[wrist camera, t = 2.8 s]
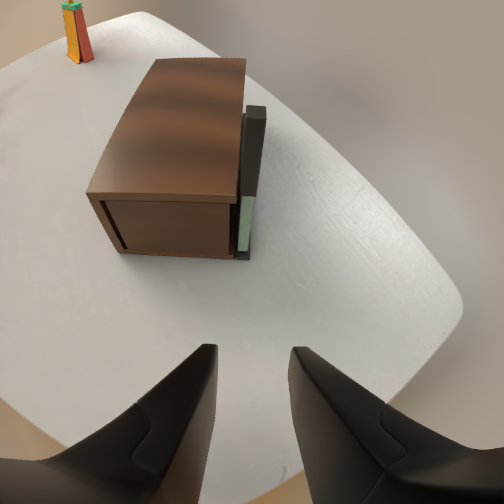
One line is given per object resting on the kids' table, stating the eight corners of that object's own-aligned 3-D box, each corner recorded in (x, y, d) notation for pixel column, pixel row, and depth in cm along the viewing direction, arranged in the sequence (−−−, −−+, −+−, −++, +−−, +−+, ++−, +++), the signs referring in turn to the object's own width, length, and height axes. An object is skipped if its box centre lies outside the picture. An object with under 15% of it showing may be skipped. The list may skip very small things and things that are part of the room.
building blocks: (94, 58, 44) (82, -3, 32) (-55, 156, 31) (-85, 102, 19) (77, 48, 48) (67, -4, 36) (-51, 131, 35) (-74, 83, 22)
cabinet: (249, 260, 25) (258, 197, 18) (117, 253, 25) (85, 193, 18) (252, 115, 35) (258, 59, 28) (162, 113, 34) (155, 59, 28)
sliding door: (248, 252, 25) (266, 119, 14) (236, 252, 25) (245, 117, 14) (250, 164, 30) (263, 45, 19) (240, 164, 30) (249, 44, 19)
